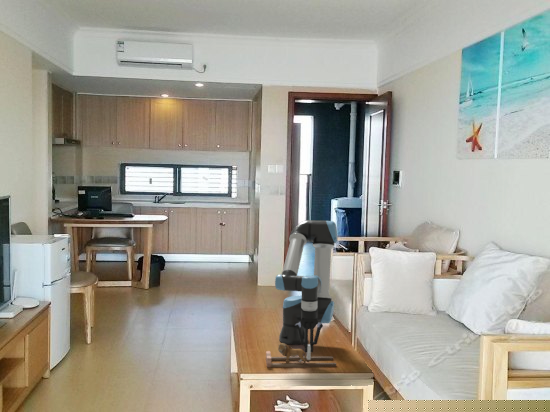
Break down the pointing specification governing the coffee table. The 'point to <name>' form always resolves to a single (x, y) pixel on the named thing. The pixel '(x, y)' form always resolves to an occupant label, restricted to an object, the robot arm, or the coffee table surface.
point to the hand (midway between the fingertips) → (308, 358)
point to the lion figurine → (291, 352)
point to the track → (269, 364)
